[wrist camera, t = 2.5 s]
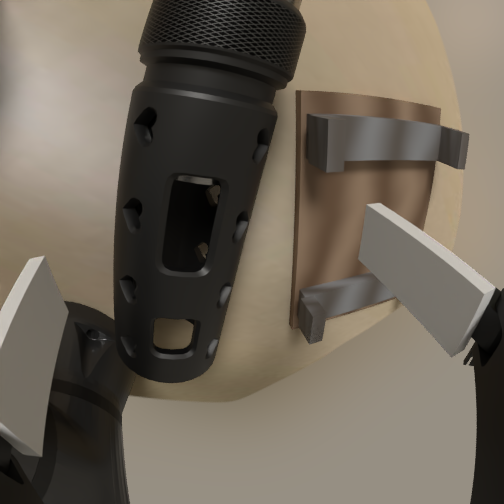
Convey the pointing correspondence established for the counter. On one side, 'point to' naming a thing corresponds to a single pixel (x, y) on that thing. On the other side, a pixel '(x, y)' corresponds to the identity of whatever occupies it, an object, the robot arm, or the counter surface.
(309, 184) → the mounting board
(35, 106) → the counter surface
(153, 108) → the muzzle brake
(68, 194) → the counter surface
